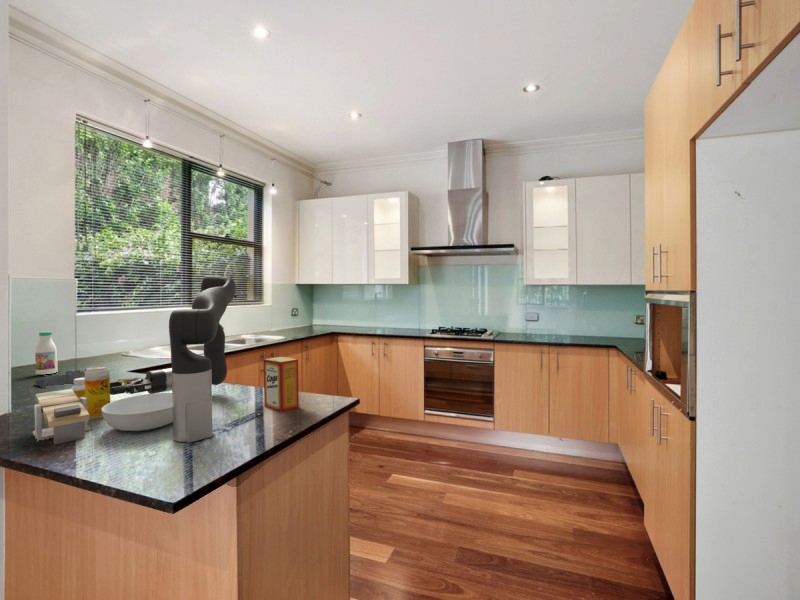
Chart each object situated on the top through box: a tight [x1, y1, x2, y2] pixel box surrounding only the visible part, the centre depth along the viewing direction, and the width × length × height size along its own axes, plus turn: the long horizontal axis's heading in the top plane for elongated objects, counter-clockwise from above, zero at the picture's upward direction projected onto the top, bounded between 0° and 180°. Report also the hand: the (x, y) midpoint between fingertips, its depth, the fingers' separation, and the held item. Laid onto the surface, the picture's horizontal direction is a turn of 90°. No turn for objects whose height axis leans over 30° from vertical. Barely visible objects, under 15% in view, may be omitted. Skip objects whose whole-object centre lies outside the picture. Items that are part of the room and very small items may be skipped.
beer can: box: [84, 365, 111, 420], centre depth 124 cm, size 6×6×15 cm
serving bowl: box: [101, 392, 173, 432], centre depth 115 cm, size 21×21×7 cm
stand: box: [32, 397, 91, 445], centre depth 108 cm, size 14×11×8 cm
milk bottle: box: [34, 331, 59, 375], centre depth 190 cm, size 8×8×20 cm
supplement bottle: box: [70, 378, 85, 400], centre depth 134 cm, size 5×5×10 cm
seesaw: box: [34, 388, 90, 428], centre depth 110 cm, size 22×8×3 cm, turn 49°
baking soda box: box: [263, 356, 300, 413], centre depth 133 cm, size 10×6×16 cm
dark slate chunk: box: [34, 368, 87, 387], centre depth 174 cm, size 15×22×5 cm
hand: (106, 389), depth 125 cm, fingers open, 8 cm apart
